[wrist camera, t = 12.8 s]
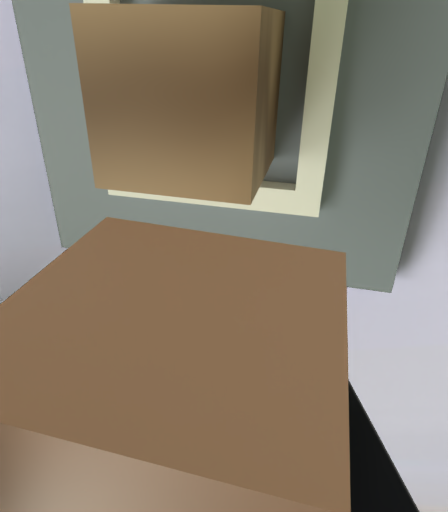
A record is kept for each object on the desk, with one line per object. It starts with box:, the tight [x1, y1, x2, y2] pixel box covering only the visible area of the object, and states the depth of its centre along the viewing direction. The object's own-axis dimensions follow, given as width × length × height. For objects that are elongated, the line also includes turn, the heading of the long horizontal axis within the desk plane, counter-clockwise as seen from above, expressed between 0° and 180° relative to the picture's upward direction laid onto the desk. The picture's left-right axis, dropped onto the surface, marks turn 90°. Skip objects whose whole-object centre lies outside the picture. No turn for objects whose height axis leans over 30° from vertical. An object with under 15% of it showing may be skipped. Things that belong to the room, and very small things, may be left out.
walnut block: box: [69, 3, 285, 205], centre depth 13 cm, size 5×5×5 cm
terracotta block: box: [0, 217, 351, 512], centre depth 8 cm, size 5×5×5 cm
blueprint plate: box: [12, 0, 448, 293], centre depth 16 cm, size 16×16×2 cm
